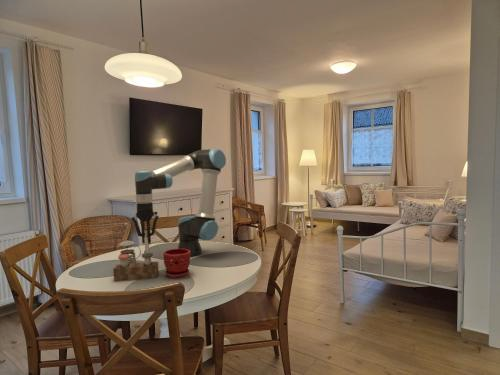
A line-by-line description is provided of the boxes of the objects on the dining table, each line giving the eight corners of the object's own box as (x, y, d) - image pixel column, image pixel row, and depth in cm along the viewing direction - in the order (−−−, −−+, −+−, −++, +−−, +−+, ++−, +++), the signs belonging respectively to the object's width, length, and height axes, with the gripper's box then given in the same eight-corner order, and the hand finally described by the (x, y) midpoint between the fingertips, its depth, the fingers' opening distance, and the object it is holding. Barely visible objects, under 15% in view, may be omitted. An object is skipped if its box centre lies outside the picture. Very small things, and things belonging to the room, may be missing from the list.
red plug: (131, 267, 160) (130, 253, 160) (129, 271, 155) (128, 256, 154) (120, 268, 159) (119, 254, 159) (118, 272, 154) (117, 257, 154)
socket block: (158, 272, 163) (158, 261, 163) (157, 277, 157) (156, 265, 156) (117, 276, 160) (116, 264, 160) (114, 281, 153) (113, 269, 153)
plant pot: (185, 279, 153) (184, 255, 152) (160, 278, 155) (158, 254, 154) (195, 270, 165) (194, 247, 164) (171, 269, 168) (170, 247, 167)
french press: (118, 267, 174) (115, 222, 172) (140, 264, 178) (138, 220, 176) (118, 273, 165) (115, 225, 163) (142, 269, 169) (139, 223, 167)
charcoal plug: (154, 266, 162) (153, 252, 161) (152, 269, 157) (152, 255, 156) (143, 266, 161) (142, 252, 160) (141, 270, 156) (141, 255, 155)
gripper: (129, 204, 152) (131, 252, 153) (157, 202, 154) (159, 250, 156) (132, 202, 159) (134, 248, 161) (159, 200, 161) (161, 246, 163)
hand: (147, 249), depth 158 cm, fingers closed
